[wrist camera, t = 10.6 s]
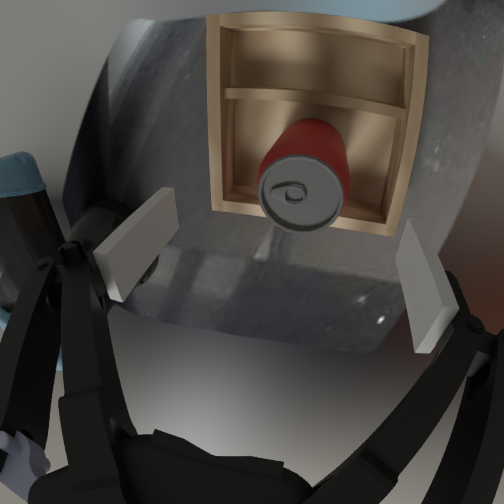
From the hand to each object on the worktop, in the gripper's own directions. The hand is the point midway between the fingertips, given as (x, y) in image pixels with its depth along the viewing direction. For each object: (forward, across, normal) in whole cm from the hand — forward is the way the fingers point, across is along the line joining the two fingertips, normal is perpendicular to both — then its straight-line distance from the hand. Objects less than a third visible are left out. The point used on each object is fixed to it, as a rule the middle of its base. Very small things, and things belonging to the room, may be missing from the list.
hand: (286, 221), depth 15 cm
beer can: (+15, +1, 0) cm, 15 cm away
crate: (+16, +1, +4) cm, 16 cm away
